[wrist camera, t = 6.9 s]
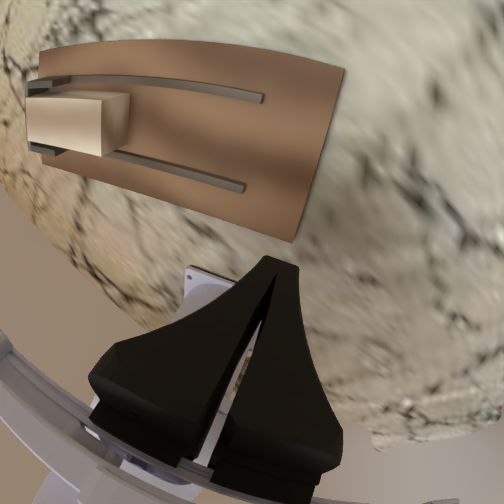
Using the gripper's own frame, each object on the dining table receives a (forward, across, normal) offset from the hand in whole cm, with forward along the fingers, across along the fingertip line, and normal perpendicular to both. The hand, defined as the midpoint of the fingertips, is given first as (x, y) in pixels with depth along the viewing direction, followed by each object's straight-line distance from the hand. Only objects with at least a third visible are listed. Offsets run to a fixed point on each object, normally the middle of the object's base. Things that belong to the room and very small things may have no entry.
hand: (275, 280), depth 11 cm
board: (+9, +13, -2) cm, 16 cm away
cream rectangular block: (+9, +19, -2) cm, 21 cm away
